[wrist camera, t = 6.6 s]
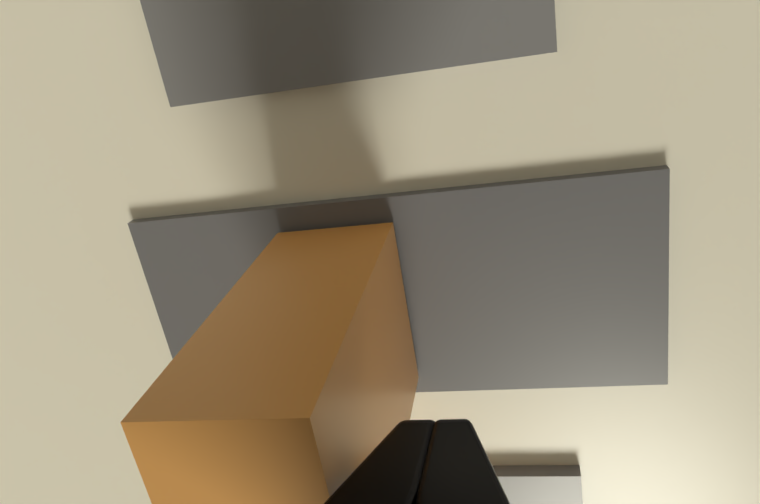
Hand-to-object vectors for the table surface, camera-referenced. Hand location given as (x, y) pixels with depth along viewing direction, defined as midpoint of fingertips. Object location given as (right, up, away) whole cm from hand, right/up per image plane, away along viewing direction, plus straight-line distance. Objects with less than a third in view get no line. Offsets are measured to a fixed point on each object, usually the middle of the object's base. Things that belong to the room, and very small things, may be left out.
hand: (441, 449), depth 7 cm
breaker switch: (-1, +1, +4) cm, 4 cm away
